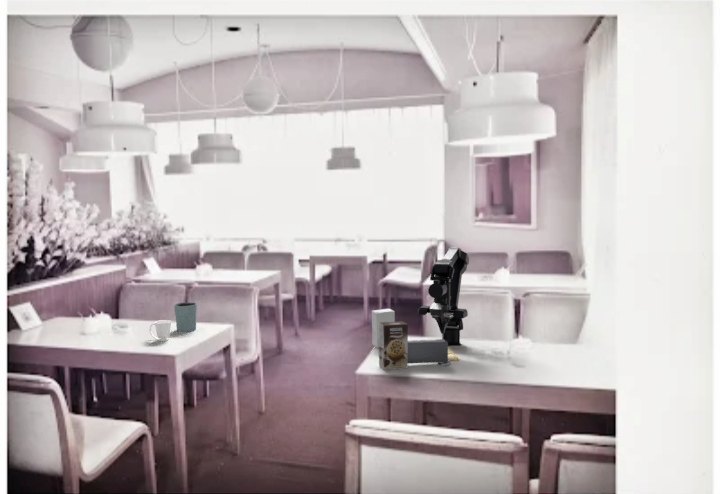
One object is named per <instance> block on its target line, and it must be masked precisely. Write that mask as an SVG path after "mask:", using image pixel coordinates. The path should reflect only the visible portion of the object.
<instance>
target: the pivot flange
mask: <svg viewBox="0 0 720 494" xmlns="http://www.w3.org/2000/svg"><path fill="white" fill-rule="evenodd" d="M437 365H438V366H440V367H449V366H452V361H448V362H437Z"/></svg>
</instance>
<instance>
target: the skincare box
mask: <svg viewBox="0 0 720 494" xmlns="http://www.w3.org/2000/svg"><path fill="white" fill-rule="evenodd" d="M395 314H396V311H395V310H393V309H391V308H382V309H376V310H371V333H372V334H371V335H372V341H371V343H372V346H373V347H375V348H377V349H379V323H380V322H396V321H395V320H396V319H395V318H396V317H395V316H396V315H395Z"/></svg>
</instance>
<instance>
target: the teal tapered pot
mask: <svg viewBox="0 0 720 494" xmlns="http://www.w3.org/2000/svg"><path fill="white" fill-rule="evenodd" d="M197 305H198V303H197V302H179V303H175V304H173V307H174V315H175V321H176V323H175V325H176V326H175V327H176V331H177V332H179V333H181V332H182V333H187V332H193V331H196V330H197V309H198V308H197V307H198V306H197Z"/></svg>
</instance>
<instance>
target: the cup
mask: <svg viewBox="0 0 720 494" xmlns="http://www.w3.org/2000/svg"><path fill="white" fill-rule="evenodd" d="M153 325H154V326H155V332H156V335H157V336H155V335H154V333H153V332H152V327H153ZM171 326H172V320H169V319H160V320H156V321H155V322H153V323H151V325H150V326H149V329H148V330H149V334H150V336H151V337H152V338H154V339H156V340H158V342H166V341H169V337H170V334H171Z"/></svg>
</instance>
